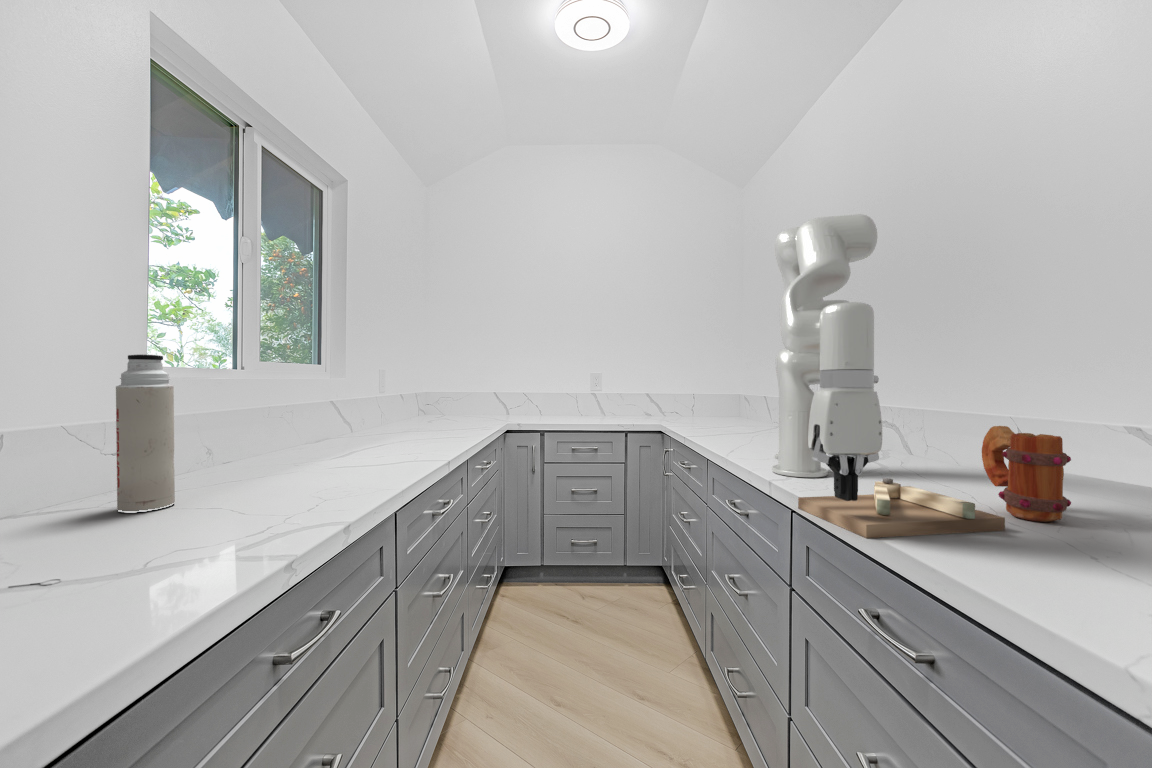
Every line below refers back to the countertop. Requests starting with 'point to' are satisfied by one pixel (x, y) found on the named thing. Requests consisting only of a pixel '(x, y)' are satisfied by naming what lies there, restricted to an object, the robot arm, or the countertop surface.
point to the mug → (1027, 472)
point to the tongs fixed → (937, 501)
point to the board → (895, 517)
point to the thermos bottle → (145, 435)
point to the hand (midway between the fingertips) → (845, 498)
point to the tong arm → (885, 496)
